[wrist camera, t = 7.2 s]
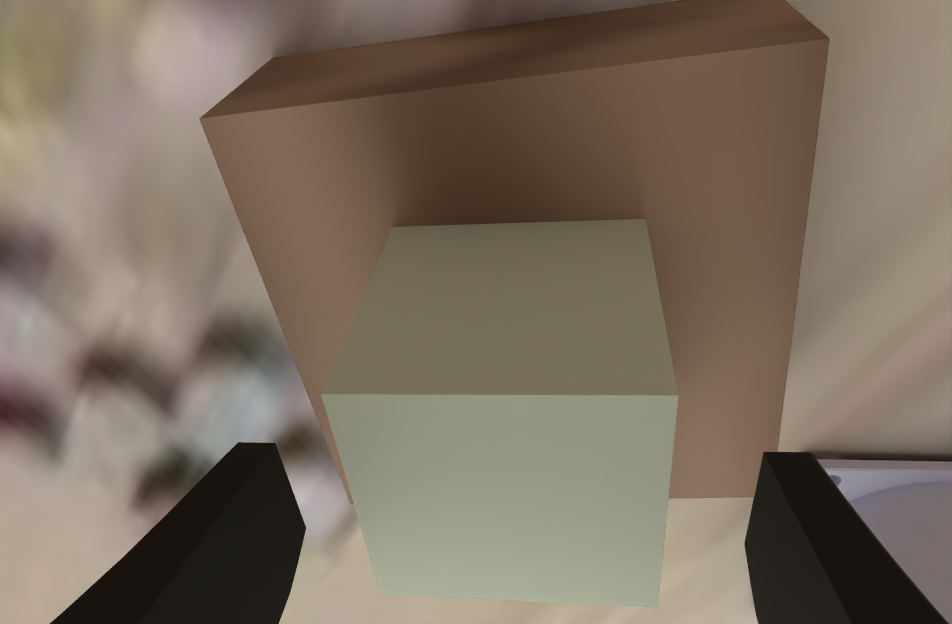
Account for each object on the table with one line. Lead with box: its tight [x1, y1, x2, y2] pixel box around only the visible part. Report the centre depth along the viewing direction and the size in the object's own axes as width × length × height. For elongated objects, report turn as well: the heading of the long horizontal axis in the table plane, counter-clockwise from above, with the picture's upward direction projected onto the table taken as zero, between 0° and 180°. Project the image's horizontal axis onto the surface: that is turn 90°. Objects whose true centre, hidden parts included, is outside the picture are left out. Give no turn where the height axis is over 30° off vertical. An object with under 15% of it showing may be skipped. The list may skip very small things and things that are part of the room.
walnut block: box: [199, 0, 829, 504], centre depth 15 cm, size 10×10×4 cm
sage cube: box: [321, 219, 678, 608], centre depth 12 cm, size 4×4×4 cm
